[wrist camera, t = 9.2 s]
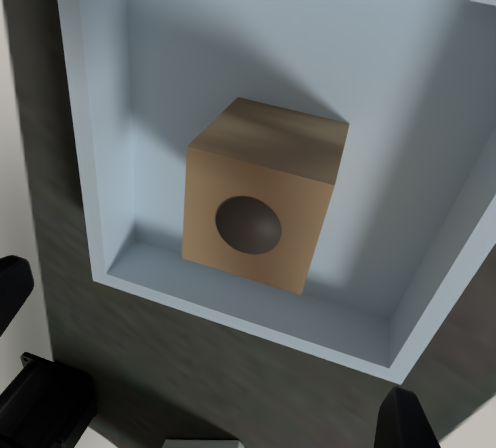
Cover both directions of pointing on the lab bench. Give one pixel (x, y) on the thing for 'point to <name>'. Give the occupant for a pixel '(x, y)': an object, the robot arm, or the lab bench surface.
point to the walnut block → (260, 191)
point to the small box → (202, 444)
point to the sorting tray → (350, 170)
